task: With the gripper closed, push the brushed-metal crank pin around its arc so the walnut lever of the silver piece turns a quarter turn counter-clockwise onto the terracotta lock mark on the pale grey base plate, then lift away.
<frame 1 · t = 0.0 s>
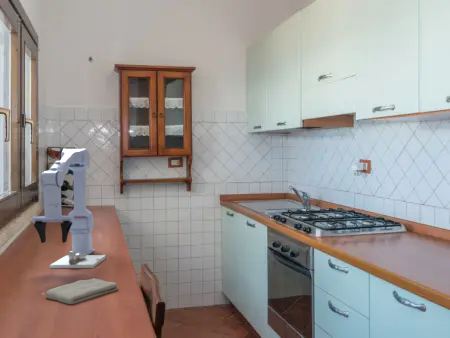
hand: (53, 242, 164), 10 cm above the worktop, fingers open, 7 cm apart
silver piece: (76, 254, 173), point 4 cm above the worktop, hinge at 0.0°
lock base: (79, 262, 176), on the worktop
washcloth: (83, 295, 136), on the worktop
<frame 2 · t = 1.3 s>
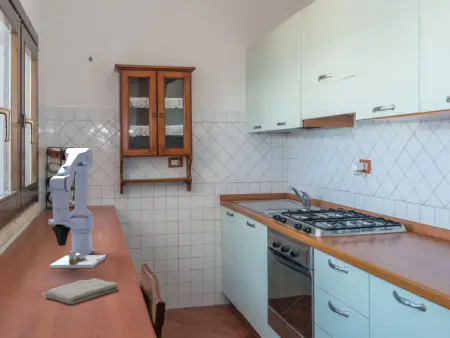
hand: (62, 245, 170), 8 cm above the worktop, fingers closed
nothing on the worktop moved.
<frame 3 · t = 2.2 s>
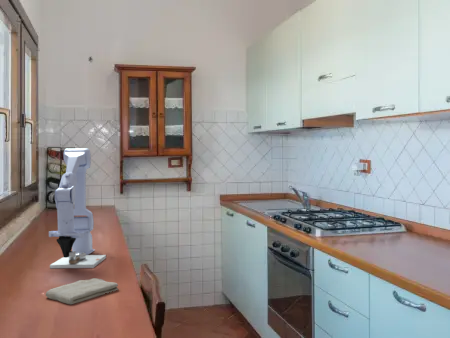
hand: (66, 256, 169), 4 cm above the worktop, fingers closed
silver piece: (76, 254, 173), point 4 cm above the worktop, hinge at 0.0°, touching gripper
everything else where it was.
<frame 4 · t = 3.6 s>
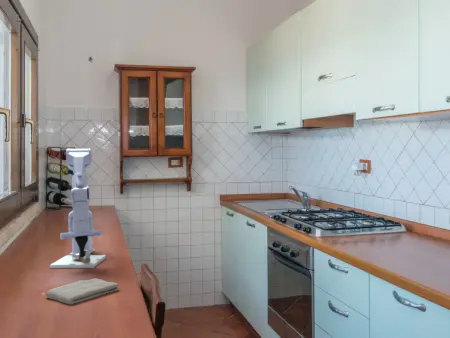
hand: (81, 256, 169), 4 cm above the worktop, fingers closed, pressing on silver piece
silver piece: (82, 254, 173), point 4 cm above the worktop, hinge at 42.8°, touching gripper
everything else where it was.
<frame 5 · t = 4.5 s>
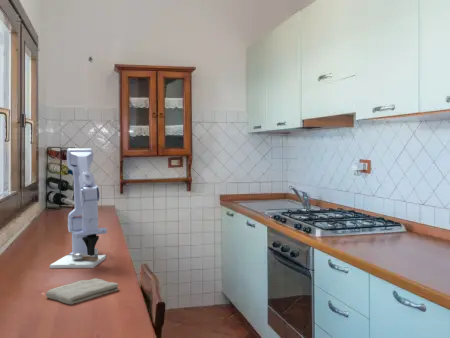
hand: (91, 255, 172), 4 cm above the worktop, fingers closed, pressing on silver piece
silver piece: (85, 253, 174), point 4 cm above the worktop, hinge at 72.7°, touching gripper
everything else where it was.
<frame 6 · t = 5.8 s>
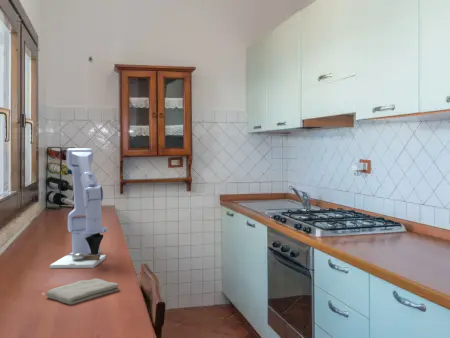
hand: (94, 254, 173), 4 cm above the worktop, fingers closed
silver piece: (86, 253, 175), point 4 cm above the worktop, hinge at 92.4°, touching gripper
everything else where it was.
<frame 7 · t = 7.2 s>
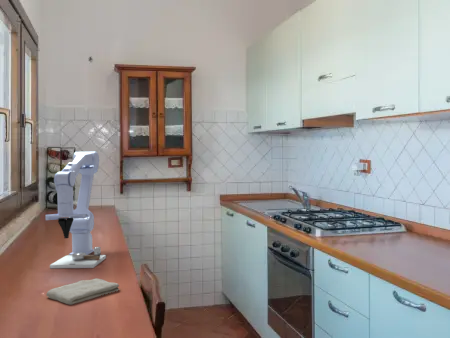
hand: (66, 237, 177), 9 cm above the worktop, fingers closed
silver piece: (86, 253, 175), point 4 cm above the worktop, hinge at 92.5°
everything else where it was.
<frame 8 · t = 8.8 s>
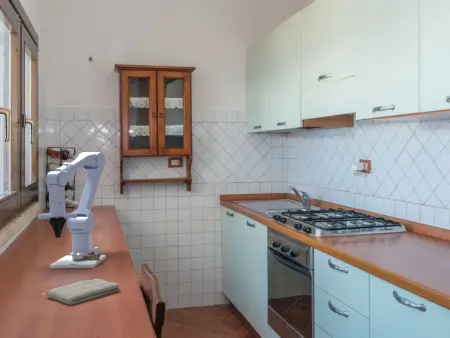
hand: (58, 237, 178), 9 cm above the worktop, fingers closed
nothing on the worktop moved.
at the end: silver piece at +92° (first picture: +0°); the gripper is holding nothing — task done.
